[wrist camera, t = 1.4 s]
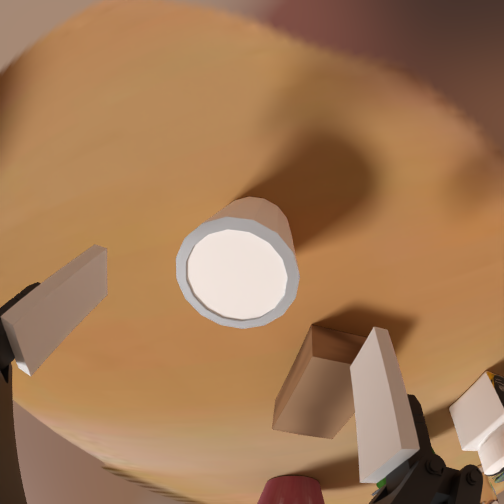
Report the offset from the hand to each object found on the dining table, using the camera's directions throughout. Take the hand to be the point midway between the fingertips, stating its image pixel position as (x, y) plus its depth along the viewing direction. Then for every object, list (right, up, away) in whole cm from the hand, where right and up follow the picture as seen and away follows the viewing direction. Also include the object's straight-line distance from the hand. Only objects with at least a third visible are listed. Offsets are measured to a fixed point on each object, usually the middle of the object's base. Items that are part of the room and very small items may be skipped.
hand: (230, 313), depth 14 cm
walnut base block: (+8, -9, +14) cm, 18 cm away
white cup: (+1, +4, +9) cm, 10 cm away
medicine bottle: (+30, -15, +13) cm, 36 cm away
